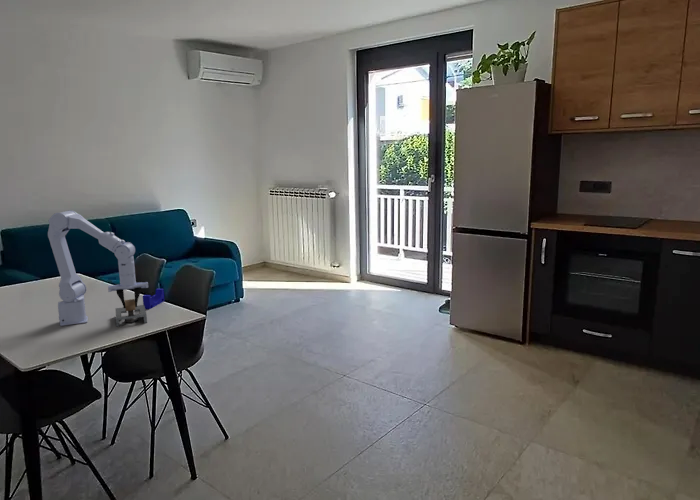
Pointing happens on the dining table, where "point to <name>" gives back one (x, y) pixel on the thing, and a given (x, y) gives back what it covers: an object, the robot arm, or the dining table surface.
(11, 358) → the dining table surface
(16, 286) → the dining table surface
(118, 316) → the notched window frame
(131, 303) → the peg
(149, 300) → the blue curved bracket
